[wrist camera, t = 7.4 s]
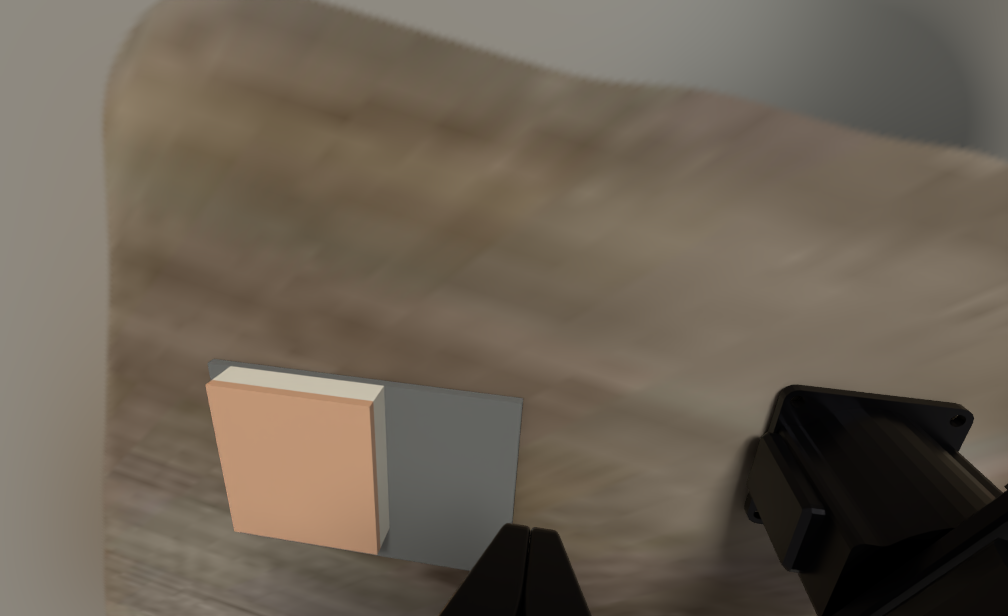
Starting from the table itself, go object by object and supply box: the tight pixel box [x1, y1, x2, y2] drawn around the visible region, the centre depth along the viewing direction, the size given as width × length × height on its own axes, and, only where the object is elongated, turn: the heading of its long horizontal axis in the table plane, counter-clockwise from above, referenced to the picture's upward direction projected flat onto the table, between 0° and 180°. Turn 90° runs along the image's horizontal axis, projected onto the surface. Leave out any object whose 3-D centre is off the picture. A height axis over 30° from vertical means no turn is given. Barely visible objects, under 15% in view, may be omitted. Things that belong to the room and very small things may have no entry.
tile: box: [206, 366, 390, 555], centre depth 22 cm, size 2×8×7 cm
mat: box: [208, 359, 523, 571], centre depth 23 cm, size 14×10×1 cm
